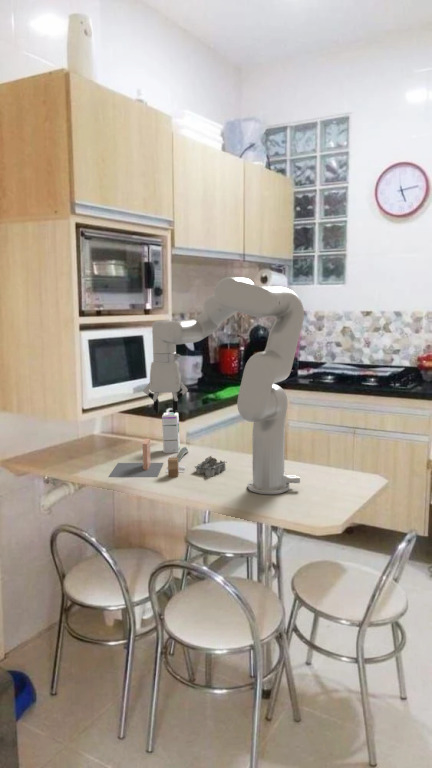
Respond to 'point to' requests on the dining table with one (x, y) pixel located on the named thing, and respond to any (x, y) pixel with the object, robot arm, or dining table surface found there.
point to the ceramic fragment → (181, 453)
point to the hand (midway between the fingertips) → (166, 411)
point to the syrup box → (171, 432)
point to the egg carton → (210, 466)
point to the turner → (174, 467)
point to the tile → (146, 454)
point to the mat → (136, 470)
